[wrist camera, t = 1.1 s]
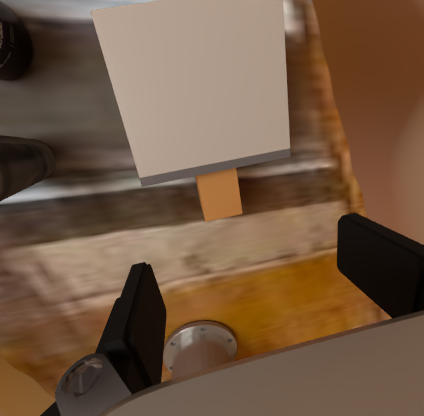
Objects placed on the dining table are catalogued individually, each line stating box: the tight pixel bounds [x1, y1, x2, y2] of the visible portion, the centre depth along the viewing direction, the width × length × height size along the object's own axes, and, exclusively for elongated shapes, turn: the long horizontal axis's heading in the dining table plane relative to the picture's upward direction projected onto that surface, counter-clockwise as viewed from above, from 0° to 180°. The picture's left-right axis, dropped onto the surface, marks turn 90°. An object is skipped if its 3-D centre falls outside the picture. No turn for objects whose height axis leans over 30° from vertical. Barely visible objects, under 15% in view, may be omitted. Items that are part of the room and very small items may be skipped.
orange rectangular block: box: [195, 168, 242, 222], centre depth 24 cm, size 4×12×6 cm, turn 10°
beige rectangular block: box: [91, 0, 291, 187], centre depth 22 cm, size 14×13×8 cm
